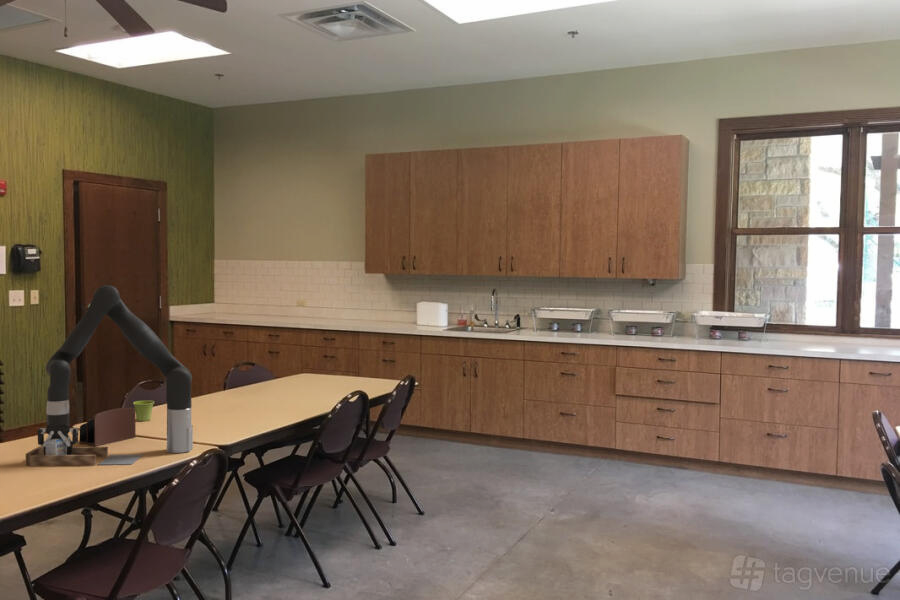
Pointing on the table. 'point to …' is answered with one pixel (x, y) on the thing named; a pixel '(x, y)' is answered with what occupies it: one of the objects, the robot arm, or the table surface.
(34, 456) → the frame
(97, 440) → the letter holder
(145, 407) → the plant pot
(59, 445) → the medicine box
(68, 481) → the table surface
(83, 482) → the table surface
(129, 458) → the slate mat
